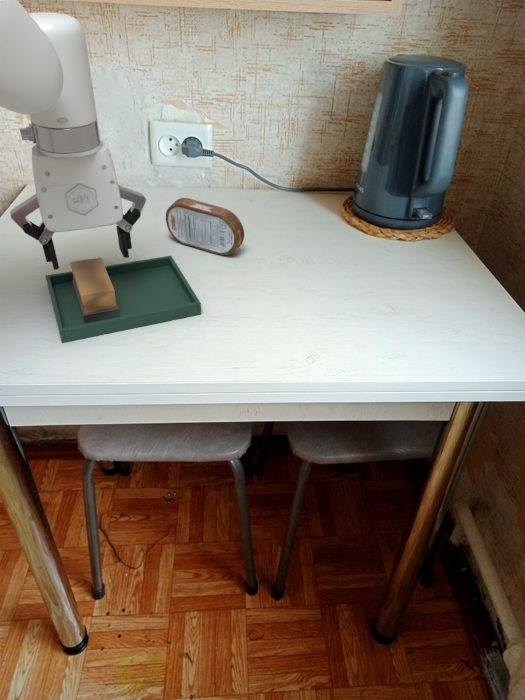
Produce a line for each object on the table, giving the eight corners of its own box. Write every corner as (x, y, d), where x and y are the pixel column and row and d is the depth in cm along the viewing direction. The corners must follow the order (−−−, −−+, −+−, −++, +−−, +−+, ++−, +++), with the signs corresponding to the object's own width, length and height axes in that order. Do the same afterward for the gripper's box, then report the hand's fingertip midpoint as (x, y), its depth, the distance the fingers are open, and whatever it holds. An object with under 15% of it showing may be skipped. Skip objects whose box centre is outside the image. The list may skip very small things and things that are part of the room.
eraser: (84, 323, 73) (79, 296, 70) (73, 287, 80) (68, 261, 77) (120, 316, 75) (116, 289, 72) (106, 282, 81) (102, 256, 78)
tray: (61, 343, 70) (59, 331, 69) (48, 286, 80) (45, 275, 79) (201, 314, 77) (200, 303, 76) (171, 266, 88) (171, 255, 86)
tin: (244, 255, 92) (246, 211, 87) (236, 262, 90) (237, 218, 85) (173, 234, 97) (171, 191, 91) (164, 241, 94) (161, 197, 89)
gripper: (-9, 152, 56) (28, 283, 67) (145, 139, 62) (157, 261, 73) (-12, 131, 61) (23, 256, 72) (131, 120, 67) (143, 238, 78)
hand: (90, 259), depth 73 cm, fingers open, 9 cm apart
